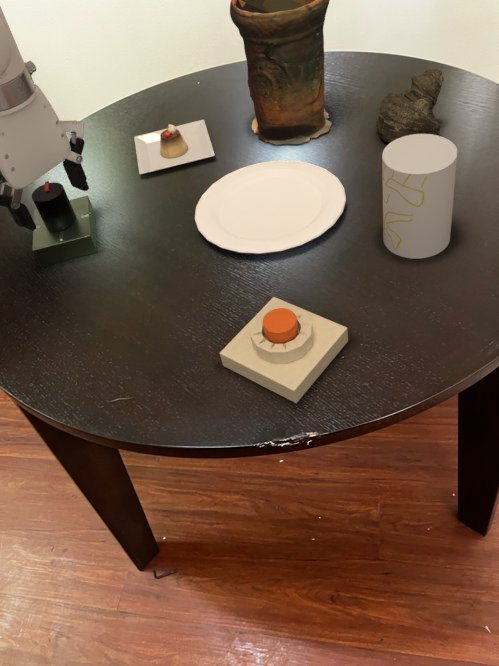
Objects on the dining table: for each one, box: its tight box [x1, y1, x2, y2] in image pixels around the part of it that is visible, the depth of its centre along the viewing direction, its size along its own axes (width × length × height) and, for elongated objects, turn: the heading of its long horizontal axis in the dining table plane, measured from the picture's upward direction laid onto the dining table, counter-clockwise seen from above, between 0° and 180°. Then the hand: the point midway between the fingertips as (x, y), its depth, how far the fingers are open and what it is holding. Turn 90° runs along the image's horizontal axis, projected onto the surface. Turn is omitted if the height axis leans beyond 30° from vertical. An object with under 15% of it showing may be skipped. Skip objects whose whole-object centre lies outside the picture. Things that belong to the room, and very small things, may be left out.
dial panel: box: [32, 195, 98, 268], centre depth 92 cm, size 10×9×3 cm
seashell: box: [375, 68, 444, 144], centre depth 94 cm, size 11×12×10 cm
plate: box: [194, 159, 347, 255], centre depth 89 cm, size 21×21×2 cm
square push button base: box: [219, 296, 349, 404], centre depth 70 cm, size 10×10×4 cm
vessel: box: [229, 0, 332, 146], centre depth 98 cm, size 14×14×20 cm
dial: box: [31, 180, 76, 231], centre depth 89 cm, size 4×4×5 cm
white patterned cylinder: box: [381, 134, 458, 260], centre depth 77 cm, size 8×8×12 cm
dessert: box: [133, 119, 216, 175], centre depth 103 cm, size 12×12×5 cm
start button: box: [263, 308, 298, 344], centre depth 68 cm, size 4×4×2 cm
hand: (55, 207), depth 89 cm, fingers open, 9 cm apart
